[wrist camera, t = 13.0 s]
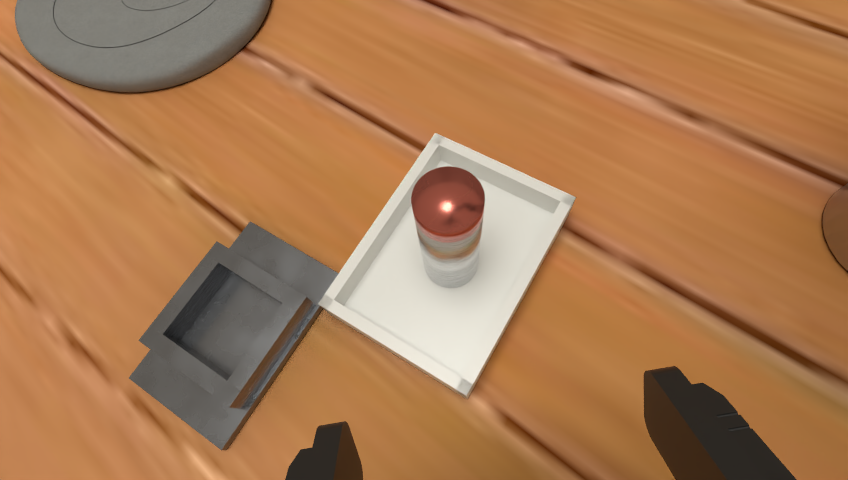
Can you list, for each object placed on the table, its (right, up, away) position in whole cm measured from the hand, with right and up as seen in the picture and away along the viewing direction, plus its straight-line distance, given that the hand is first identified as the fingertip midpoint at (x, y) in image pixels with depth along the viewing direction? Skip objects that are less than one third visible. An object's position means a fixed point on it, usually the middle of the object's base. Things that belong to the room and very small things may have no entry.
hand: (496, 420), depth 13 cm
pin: (0, +3, +22) cm, 23 cm away
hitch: (-15, -2, +23) cm, 28 cm away
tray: (0, +3, +23) cm, 23 cm away
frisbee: (-31, +28, +37) cm, 55 cm away
